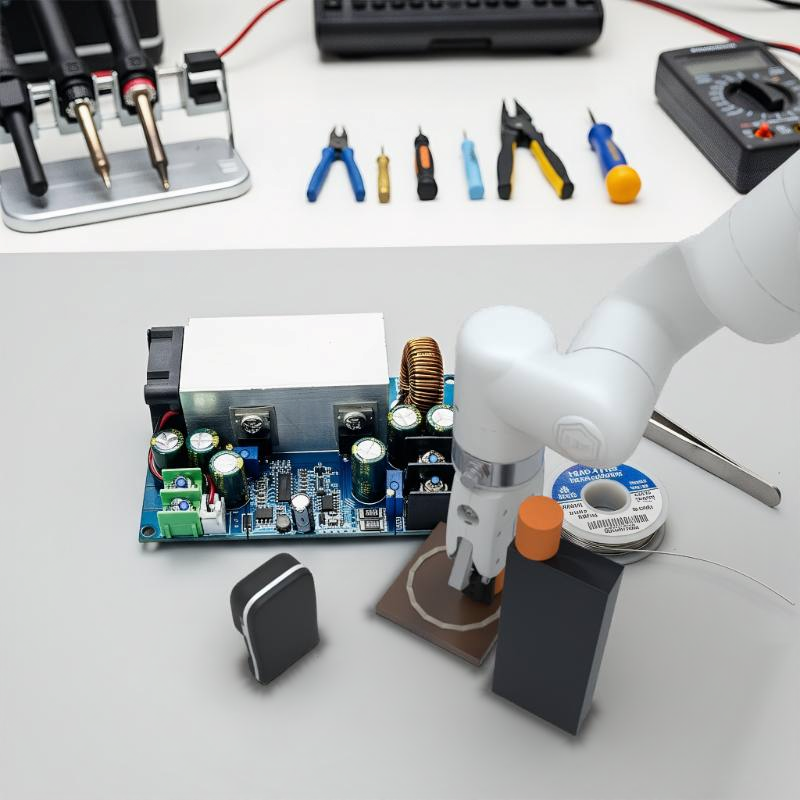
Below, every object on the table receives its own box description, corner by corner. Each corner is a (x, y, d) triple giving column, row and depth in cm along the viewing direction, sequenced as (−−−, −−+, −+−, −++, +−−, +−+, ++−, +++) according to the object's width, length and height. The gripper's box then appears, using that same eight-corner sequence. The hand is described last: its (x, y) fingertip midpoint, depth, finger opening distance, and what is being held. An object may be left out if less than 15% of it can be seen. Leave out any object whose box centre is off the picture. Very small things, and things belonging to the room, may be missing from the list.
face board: (539, 573, 95) (540, 566, 94) (479, 667, 88) (479, 660, 87) (440, 527, 99) (440, 519, 99) (375, 612, 92) (374, 605, 91)
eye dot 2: (566, 537, 73) (571, 506, 71) (547, 567, 71) (551, 536, 69) (527, 520, 74) (531, 489, 72) (507, 549, 72) (510, 518, 70)
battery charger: (296, 615, 92) (285, 538, 84) (323, 641, 90) (315, 563, 82) (236, 662, 88) (219, 585, 81) (262, 689, 86) (248, 613, 79)
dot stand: (590, 708, 85) (625, 565, 71) (575, 736, 83) (608, 595, 69) (507, 665, 88) (525, 520, 74) (491, 691, 86) (506, 547, 72)
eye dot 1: (509, 577, 93) (512, 554, 91) (493, 601, 91) (495, 578, 89) (479, 563, 94) (481, 539, 92) (463, 586, 92) (464, 563, 90)
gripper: (491, 532, 74) (480, 666, 86) (583, 402, 84) (561, 540, 96) (405, 492, 77) (406, 628, 89) (504, 372, 87) (493, 509, 99)
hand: (487, 581), depth 93 cm, fingers closed on eye dot 1, 3 cm apart
